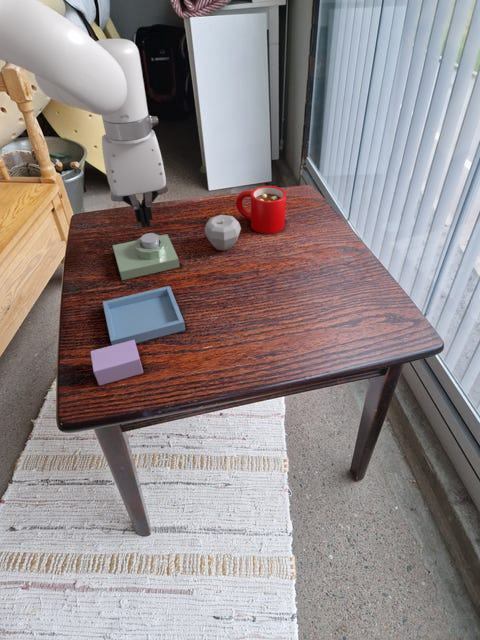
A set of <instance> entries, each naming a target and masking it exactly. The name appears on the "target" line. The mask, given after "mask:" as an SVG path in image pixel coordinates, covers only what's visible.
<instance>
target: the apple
mask: <svg viewBox="0 0 480 640" xmlns="http://www.w3.org/2000/svg"><path fill="white" fill-rule="evenodd" d="M241 230H242V227H241V224H240V222H239V221H238V219H236V218H235V217H234V216H233V215H227V214H219V215H216V216H212V217H210V218H209V219H208V221H207V222H206V224H205V227H204V234H205V236H206V238H207V240H208V241H209V243H210V244H211V245H212V246H213V248H215V249H216V250H217V251H221V252H222V251H223V252H225V251H228V250H231V249H233V248H234V246H235V245H236V242H237V241H238V239H239V236H240V233H241Z"/></svg>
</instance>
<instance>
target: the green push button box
mask: <svg viewBox="0 0 480 640" xmlns="http://www.w3.org/2000/svg"><path fill="white" fill-rule="evenodd" d="M157 235H158V238H159V246H158V247H156V248H153V249H144V248H143V247H142V244H141V237H139V238H136V239H135V240H132V241H127V242H122V243H117V244H112V249H113V253H114V257H115V259H116V260H115V261H116V264H117V268H118V272H119V276H120V279H121V281H126V280H131V279H134V278H139V277H144V276H148V275H152V274H156V273H160V272H165V271H169V270H174V269H178V268H181V267H180V259H179V257H178V254H177V252H176V250H175V248H174V246H173V243H172V241H171V239H170V236H169V235H168V234H167V233H166V234H165V233H164V234H157Z"/></svg>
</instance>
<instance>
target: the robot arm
mask: <svg viewBox="0 0 480 640" xmlns="http://www.w3.org/2000/svg"><path fill="white" fill-rule="evenodd" d="M0 61H4V62H5V63H9V64H10V65H14V66H17V67H19V68H20V69H22V70H24V71H27V72H29V73H31V74H33V75H34V79H35V81H36V84H37V86H38V88H39V89H40V90H41V91H42V93H44V95H45V96H46V97H48V98H49V99H51V100H53V101H55V102H57V103H59V104H62V105H66V106H69V107H72V108H75V109H79V110H81V111H85V112H88V113H91V114H94V115H98V116H101V119H102V125H103V128H104V134H103V135H102V136H101V148H102V158H103V162H104V163H103V164H104V168H105V174H106V179H107V183H108V185H109V188H110V192H109V193H110V195H109V197H110V200H111V201H112V202H119V203H121V202H123V203H126V204H127V205H129V206H130V207H132V208H133V210H134V214H135V219H136V222H137V223H140V225H141V227H142V228H146V227H151V221H153V214H152V208H151V207H152V206H153V203H154V201H155V200H156V199H157V198H158V196H161V195H163V194H166V193H168V191H169V188H168V186H167V178H166V172H165V169H164V168H165V167H164V166H165V165H164V161H163V157H162V152H161V149H160V145H159V142H158V138H157V136H156V133H155V130H153V127H155V126H158V125H159V118H158V116H157V115H156V116H154V115H150V114H149V110H148V103H147V96H146V90H145V82H144V77H143V69H142V62H141V56H140V51H139V48H138V46H137V45H136V43H135V42H133V41H132V40H129V39H126V38H105V39H104V38H103V39H98V40H94V39H93V38H92V37H91V36H90V35H89V34H87V33H86V32H85V31H84V30H83V29H81V28H80V27H79V26H77V25H76V24H75V23H74V22H72V21H70V20H69V19H68V18H66V17H65V16H63V15H62V14H60V13H59V12H57V10H55V9H53V8H51V7H50V6H48V5H46V4H45V3H44V2H41V1H40V0H0ZM140 194H142V199H141V202H140V200H138V198H137V195H140Z"/></svg>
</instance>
